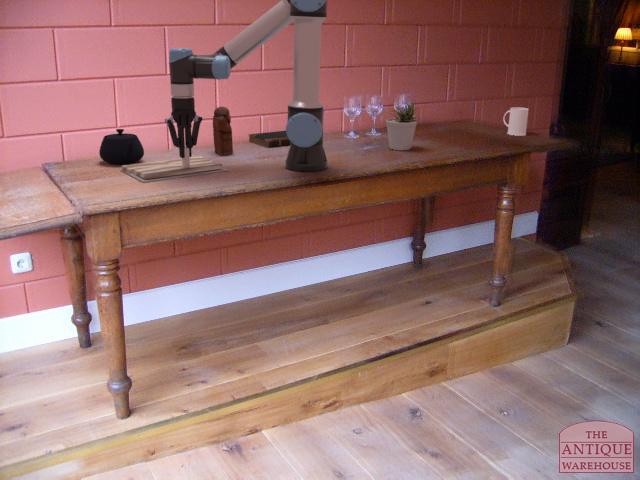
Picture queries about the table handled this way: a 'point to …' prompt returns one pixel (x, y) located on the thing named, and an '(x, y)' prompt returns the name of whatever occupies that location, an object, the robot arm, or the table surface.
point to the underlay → (173, 175)
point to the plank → (176, 169)
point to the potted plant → (402, 129)
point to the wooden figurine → (222, 131)
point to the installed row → (159, 163)
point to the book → (270, 139)
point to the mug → (517, 121)
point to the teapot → (121, 148)
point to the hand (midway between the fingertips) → (186, 166)
